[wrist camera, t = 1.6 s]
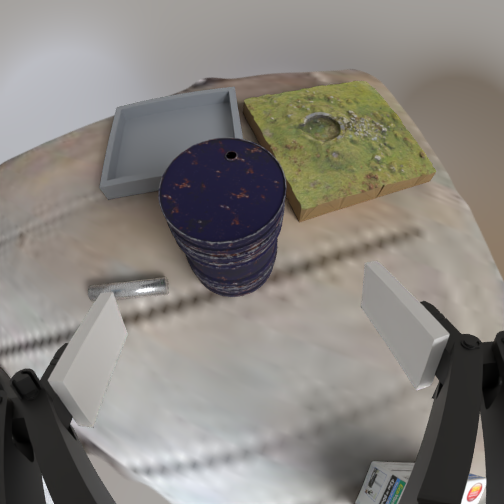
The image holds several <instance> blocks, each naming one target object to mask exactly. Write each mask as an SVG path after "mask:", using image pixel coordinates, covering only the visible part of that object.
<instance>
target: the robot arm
mask: <svg viewBox="0 0 504 504" xmlns="http://www.w3.org/2000/svg"><path fill="white" fill-rule="evenodd" d="M361 308H362V309H363V311H364V312H365V314H366V315H367V317H368V318H369V319H370V321H371V322H372V324H373V325H374V327H375V328H376V330H377V331H378V333H379V334H380V335H381V337H382V338H383V340H384V341H385V343H386V344H387V346H388V347H389V349H390V350H391V352H392V353H393V355H394V356H395V358H396V360H397V361H398V363H399V364H400V366H401V367H402V369H403V370H404V372H405V373H406V375H407V377H408V378H409V380H410V381H411V383H412V384H413V386H414V388H415V389H416V390H419V389H422V388H425V387H427V386H430V385H431V384H432V381H433V379H434V377H435V375H436V377H437V378H438V380H439V383H438V385H437V388H436V390H435V392H434V394H433V397H432V398H433V399H434V402H433V406H432V410H431V413H430V417H429V421H428V424H427V428H426V431H425V434H424V438H423V441H422V444H421V447H420V450H419V453H418V456H417V459H416V461H415V464H414V467H413V469H412V472H411V475H410V477H409V480H408V482H407V485H406V487H405V489H404V492H403V494H402V496H401V499H400V501H399V503H398V504H461V502H462V498H463V495H464V491H465V488H466V484H467V480H468V476H469V472H470V468H471V463H472V458H473V453H474V448H475V442H476V436H477V429H478V422H479V414H481V421H482V429H483V438H484V448H485V463H486V504H504V331H500V332H499V333H497V335H496V337H495V340H494V341H493V342H481V341H480V340H479V339H478V338H477V337H475V336H473V335H470V334H461V333H460V332H459V331H458V330H457V329H456V328H455V327H454V326H453V325H452V324H451V323H450V322H449V321H448V320H447V319H446V318H445V317H444V316H443V315H442V314H441V313H440V312H439V311H438V310H437V309H436V308H435V307H434V306H433V305H431V304H430V303H428V302H426V301H422V302H419V301H418V300H417V299H416V298H415V297H414V296H413V295H412V294H411V293H410V292H409V291H408V290H407V289H406V288H405V287H404V286H403V285H402V284H401V283H400V282H399V281H398V280H397V279H396V278H395V277H394V276H393V275H392V274H391V273H390V272H389V271H388V270H387V269H386V268H385V267H384V266H383V265H382V264H381V263H379V262H378V261H373V262H366V263H365V268H364V281H363V292H362V303H361ZM127 335H128V333H127V331H126V328H125V325H124V323H123V320H122V317H121V314H120V311H119V308H118V305H117V302H116V299H115V296H114V293H113V292H107V293H100V295H99V296H98V298H97V299H96V301H95V302H94V304H93V305H92V307H91V308H90V310H89V312H88V313H87V315H86V316H85V318H84V319H83V321H82V323H81V324H80V326H79V327H78V329H77V331H76V332H75V334H74V335H73V337H72V339H71V340H70V342H69V343H65V344H64V345H63V346H62V347H61V348H60V349H58V351H57V352H56V354H55V356H54V357H53V358H54V359H52V361H51V362H50V365H49V366H48V367H47V369H46V371H45V373H44V374H43V376H42V378H41V380H39V379H38V377H37V375H36V374H35V372H34V371H33V370H32V369H23V370H20V371H19V372H17V373H16V374H15V375H14V376H13V377H12V379H11V380H10V378H9V377H8V376H7V374H6V373H5V372H4V371H3V370H2V369H1V368H0V504H46V501H45V495H44V489H43V482H42V476H43V478H44V481H45V483H46V486H47V488H48V491H49V493H50V495H51V498H52V500H53V502H54V504H116V503H115V501H114V500H113V498H112V497H111V495H110V493H109V492H108V490H107V489H106V487H105V486H104V484H103V482H102V481H101V479H100V478H99V476H98V474H97V472H96V471H95V469H94V467H93V465H92V464H91V462H90V460H89V458H88V456H87V454H86V452H85V451H84V449H83V447H82V445H81V443H80V441H79V439H78V437H77V435H76V433H75V430H74V428H73V427H72V426H71V425H70V423H71V420H72V418H73V419H74V420H75V421H76V423H77V424H78V425H79V426H84V427H92V428H94V425H95V422H96V419H97V416H98V413H99V410H100V407H101V404H102V401H103V399H104V396H105V393H106V390H107V387H108V385H109V382H110V379H111V376H112V374H113V371H114V368H115V366H116V363H117V360H118V358H119V355H120V353H121V350H122V348H123V345H124V343H125V340H126V338H127ZM41 473H42V474H41Z"/></svg>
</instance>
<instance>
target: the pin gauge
mask: <svg viewBox="0 0 504 504" xmlns="http://www.w3.org/2000/svg"><path fill="white" fill-rule="evenodd" d="M107 292H113V293H114V296H115V299H127V298H138V297H148V296H158V295H168V294H169V290H168V280H167V278H166V277H163V278H154V279H145V280H136V281H127V282H117V283H108V284H98V285H90V286H89V289H88V295H89V298H90V300H91V301H96V299H97V298H98V296H99V295H100V293H107Z"/></svg>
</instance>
